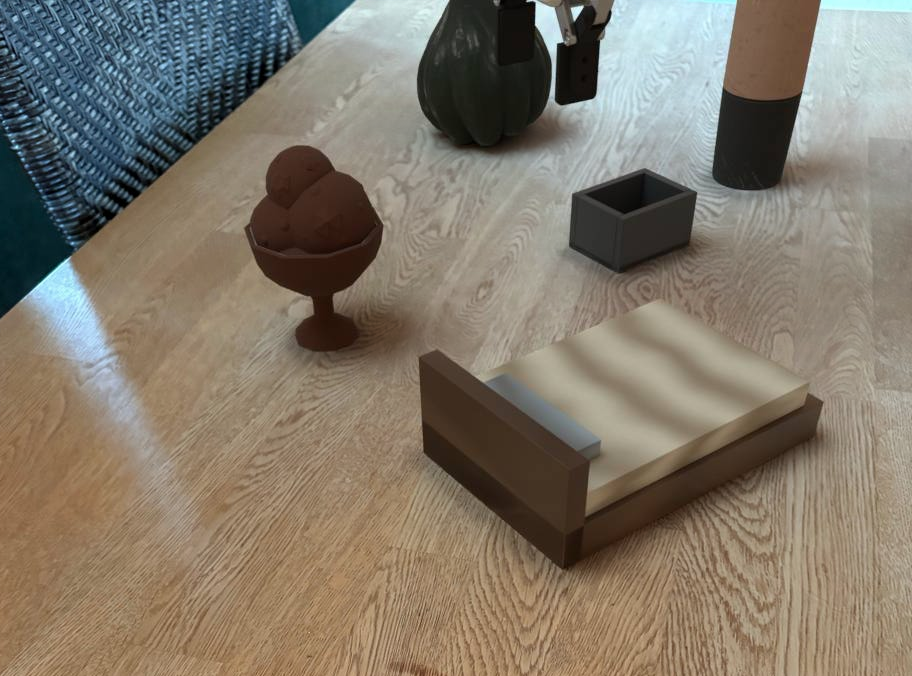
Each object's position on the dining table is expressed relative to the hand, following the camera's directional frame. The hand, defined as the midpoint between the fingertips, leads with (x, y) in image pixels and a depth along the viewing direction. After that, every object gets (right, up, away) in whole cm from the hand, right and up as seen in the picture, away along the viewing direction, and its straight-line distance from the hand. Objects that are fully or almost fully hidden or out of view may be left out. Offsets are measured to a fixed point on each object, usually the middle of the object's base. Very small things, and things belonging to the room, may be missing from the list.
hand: (543, 81), depth 77 cm
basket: (+10, -5, +19) cm, 22 cm away
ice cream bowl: (-18, -16, +10) cm, 26 cm away
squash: (-3, +15, +39) cm, 42 cm away
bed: (+5, -28, -2) cm, 29 cm away
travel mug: (+24, +6, +29) cm, 38 cm away
